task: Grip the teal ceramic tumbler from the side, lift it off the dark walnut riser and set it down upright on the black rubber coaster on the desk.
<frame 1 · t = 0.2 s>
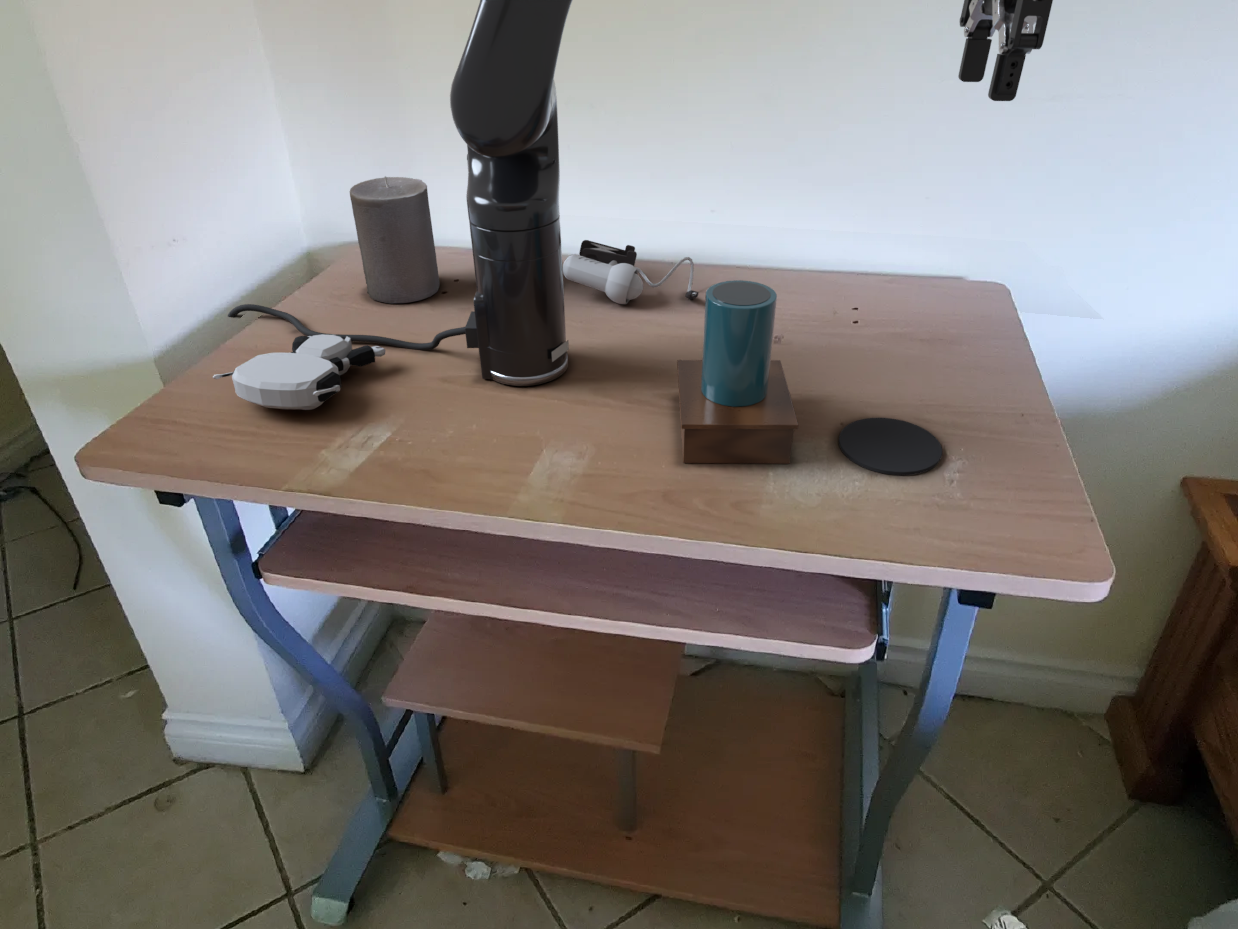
hand: (984, 90, 79), 29 cm above the table, tool pointing down, fingers open, 8 cm apart
tumbler: (734, 390, 83), point 4 cm above the table, touching riser
riser: (731, 429, 86), on the table
coaster: (889, 446, 83), on the table
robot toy: (311, 390, 94), on the table
clip-on lamp: (634, 294, 114), on the table
pillar candle: (405, 290, 116), on the table
coffee jar: (512, 279, 119), on the table
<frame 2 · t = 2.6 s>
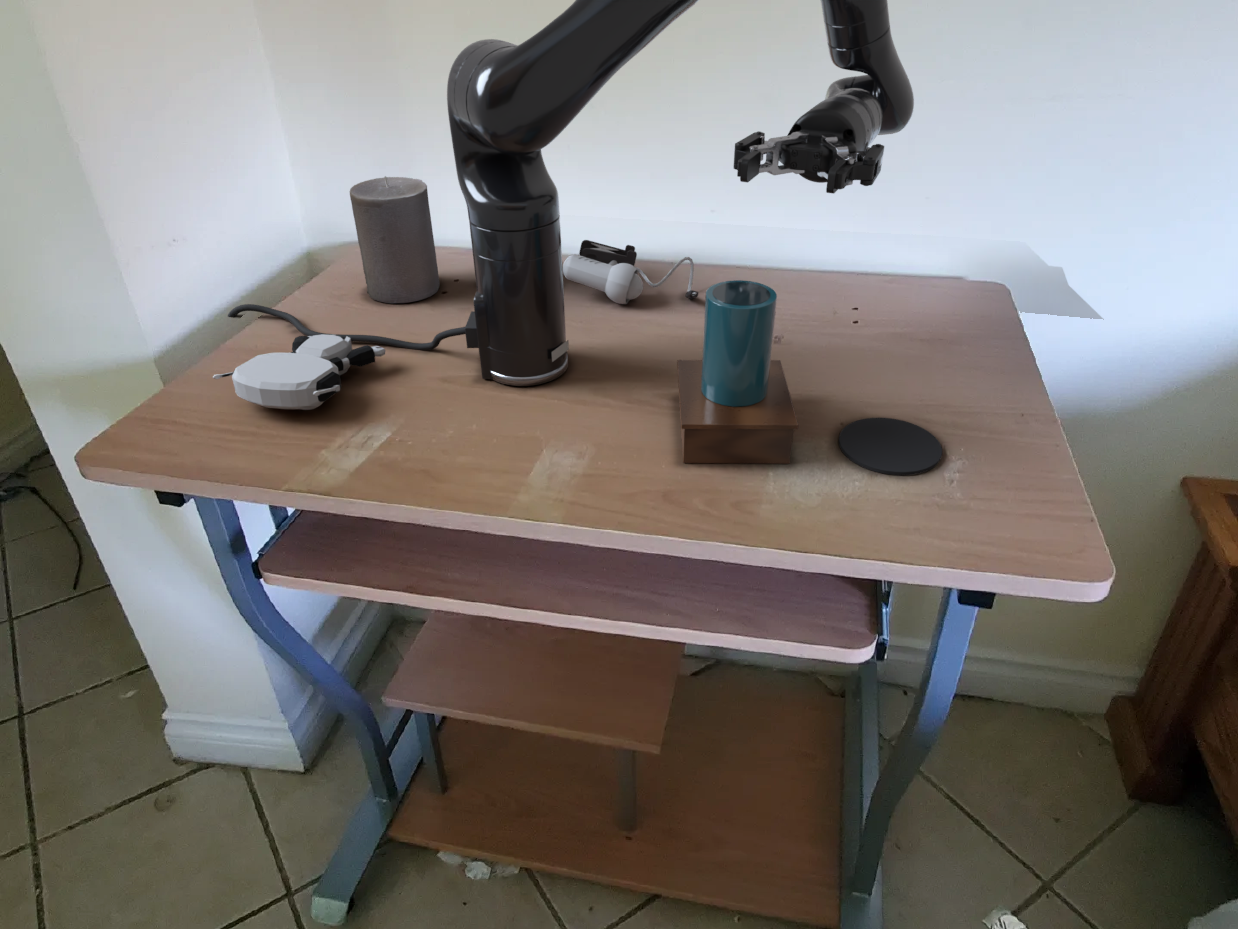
hand: (786, 176, 81), 22 cm above the table, tool horizontal, fingers open, 8 cm apart
nothing on the table moved.
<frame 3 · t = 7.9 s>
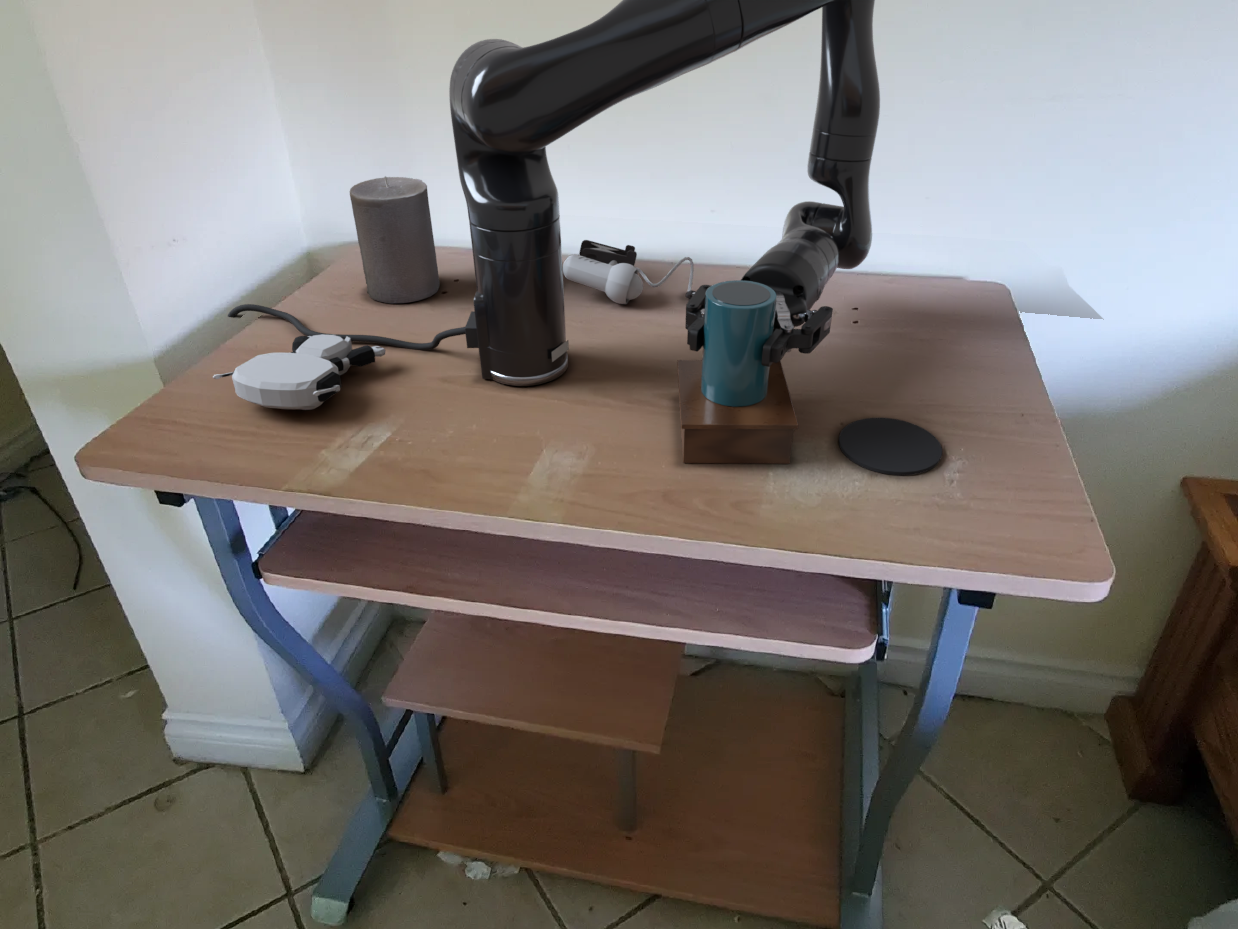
hand: (729, 349, 78), 10 cm above the table, tool horizontal, fingers closed on tumbler, 6 cm apart
tumbler: (733, 390, 83), point 5 cm above the table, touching gripper, riser
everything else where it was.
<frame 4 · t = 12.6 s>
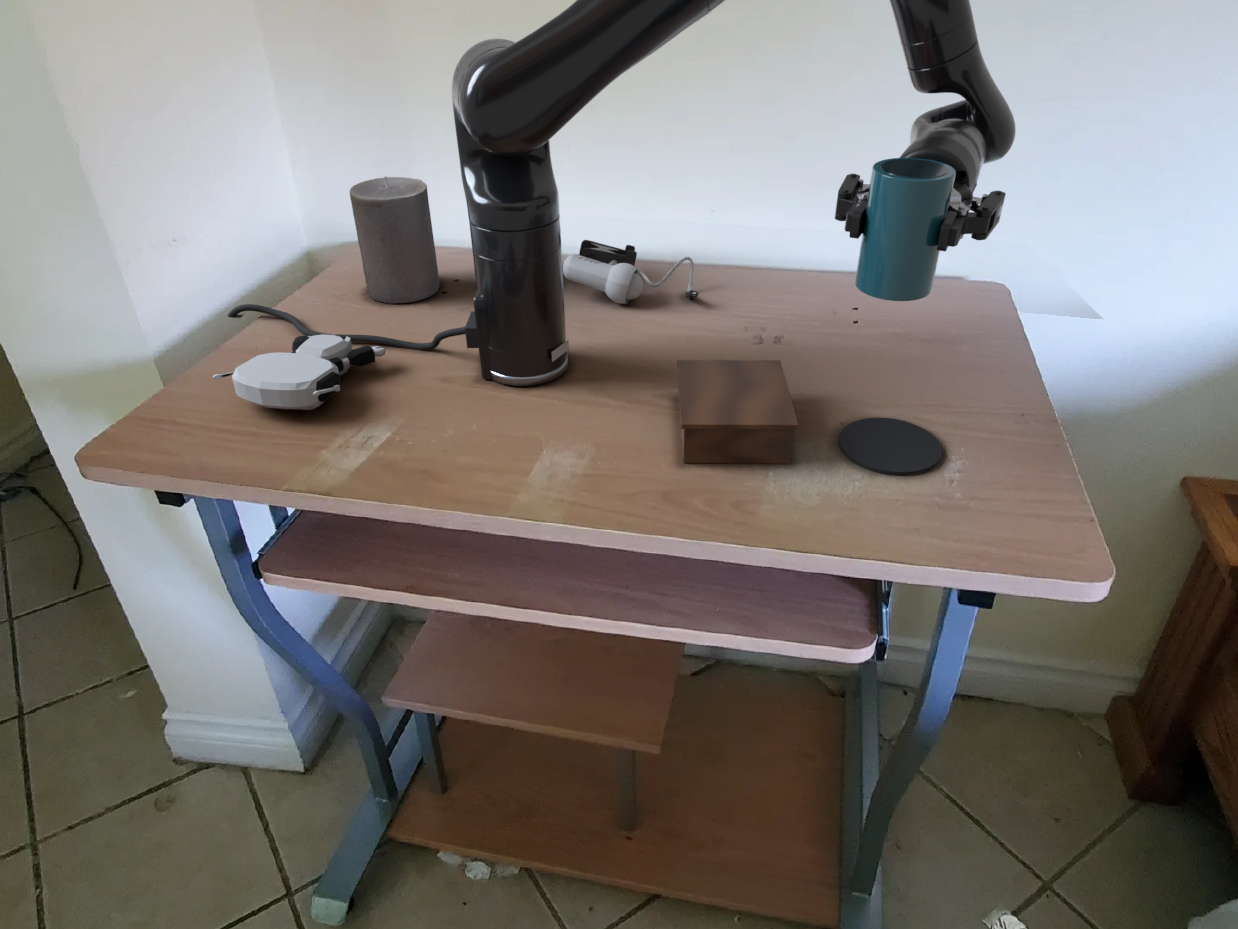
hand: (898, 232, 69), 22 cm above the table, tool horizontal, fingers closed on tumbler, 6 cm apart
tumbler: (892, 286, 74), point 16 cm above the table, touching gripper
everything else where it was.
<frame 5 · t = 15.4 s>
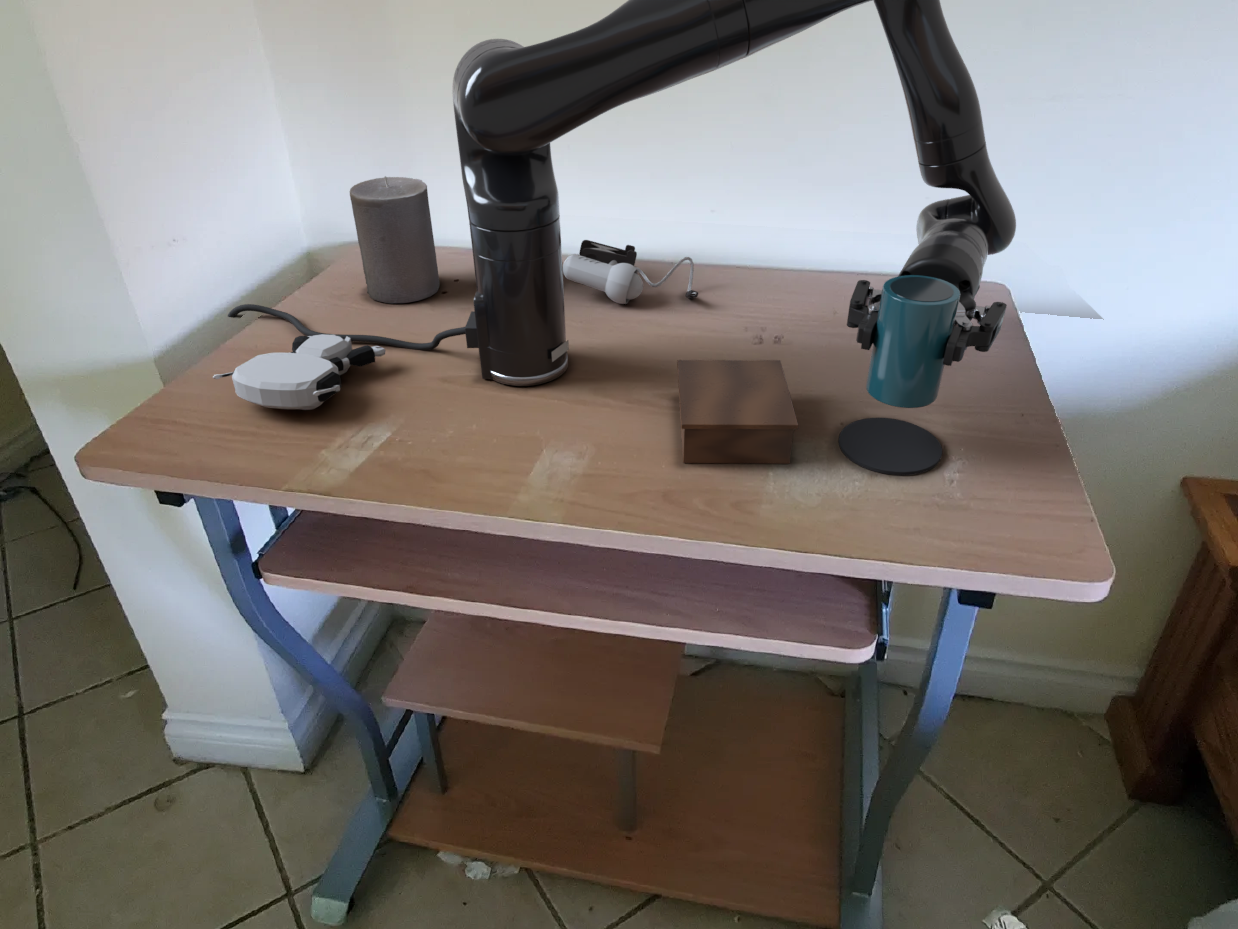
hand: (907, 347, 75), 12 cm above the table, tool horizontal, fingers closed on tumbler, 6 cm apart
tumbler: (901, 390, 79), point 6 cm above the table, touching gripper
everything else where it was.
when the fingers open (6 cm above the table, at t = 17.6 s): tumbler stays where it is, resting on coaster.
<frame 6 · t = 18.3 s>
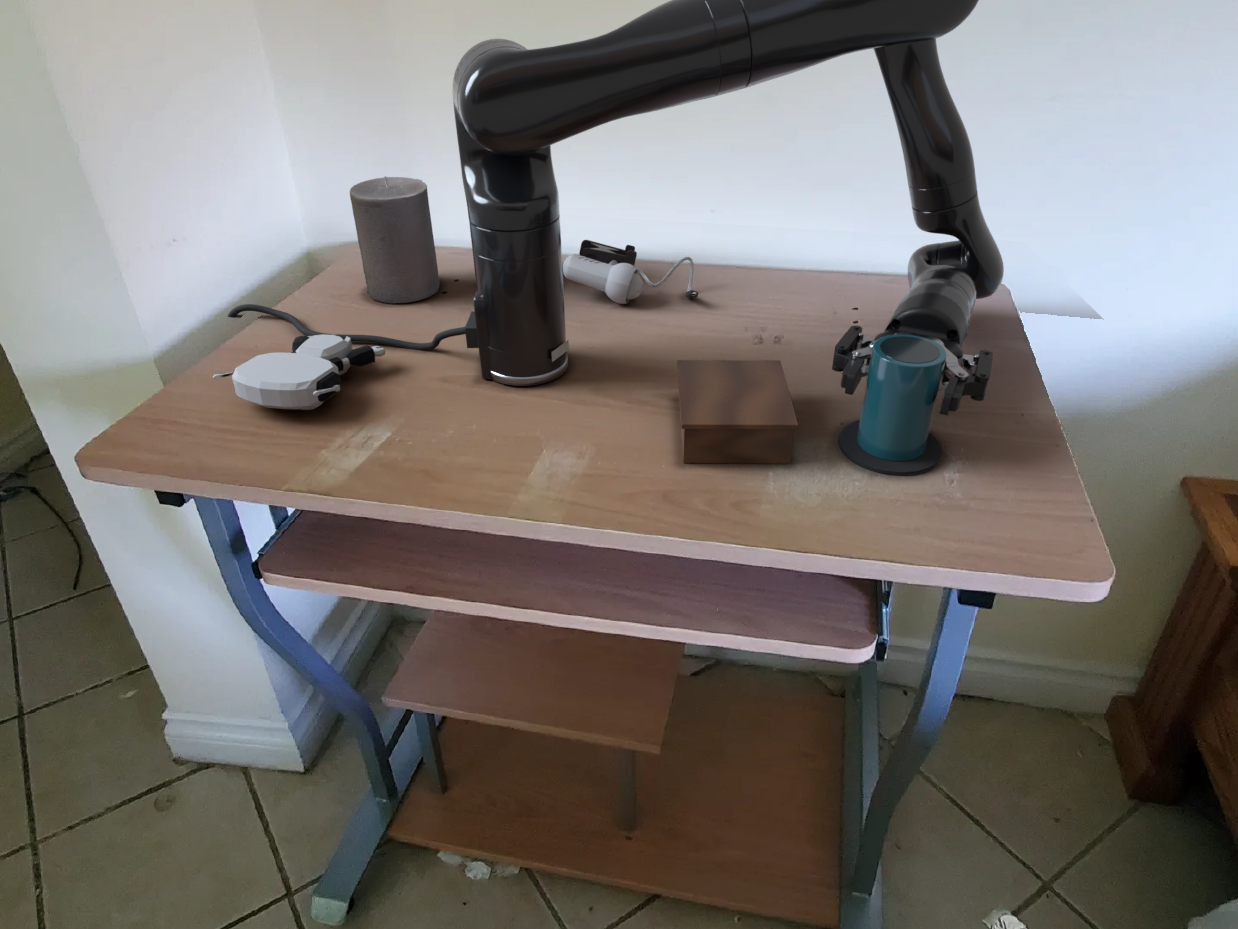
hand: (896, 395, 78), 7 cm above the table, tool horizontal, fingers open, 8 cm apart
tumbler: (890, 442, 83), resting on coaster
everything else where it was.
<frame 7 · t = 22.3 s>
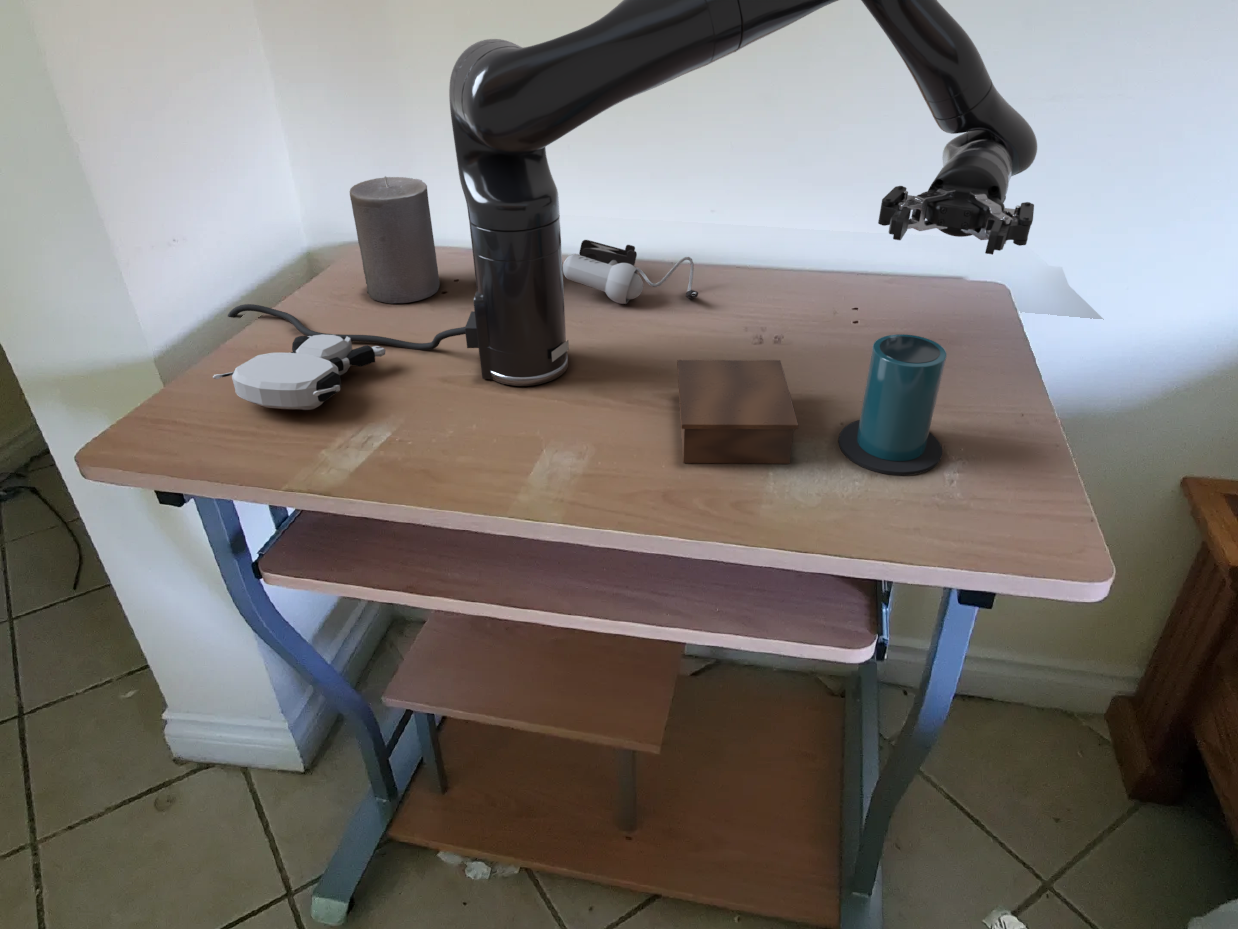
hand: (944, 236, 81), 17 cm above the table, tool horizontal, fingers open, 8 cm apart
nothing on the table moved.
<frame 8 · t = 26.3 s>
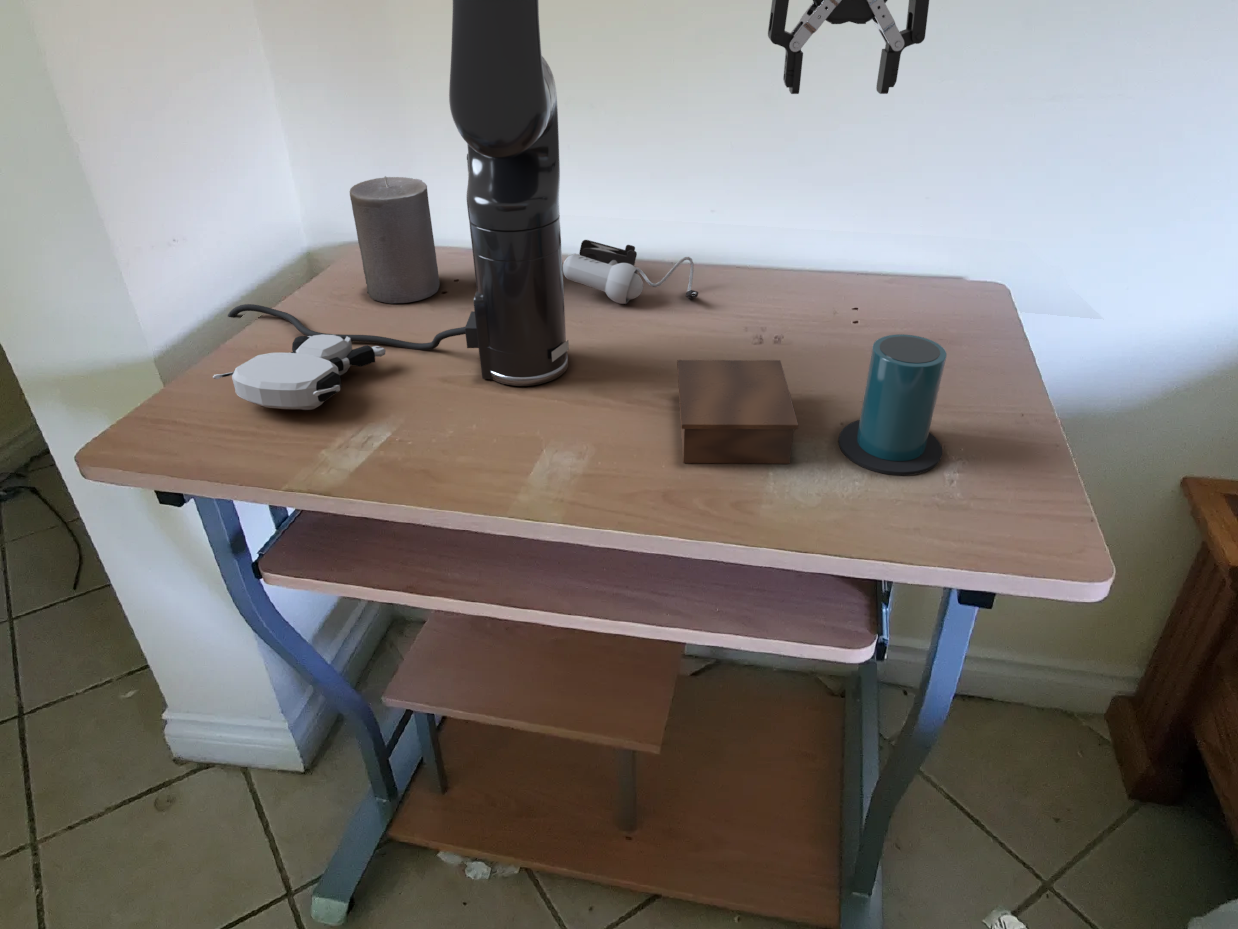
hand: (838, 92, 84), 28 cm above the table, tool pointing down, fingers open, 8 cm apart
nothing on the table moved.
at the end: tumbler 0.1 cm from the target spot, resting on coaster; tumbler tilted 0°; tumbler touching coaster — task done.
